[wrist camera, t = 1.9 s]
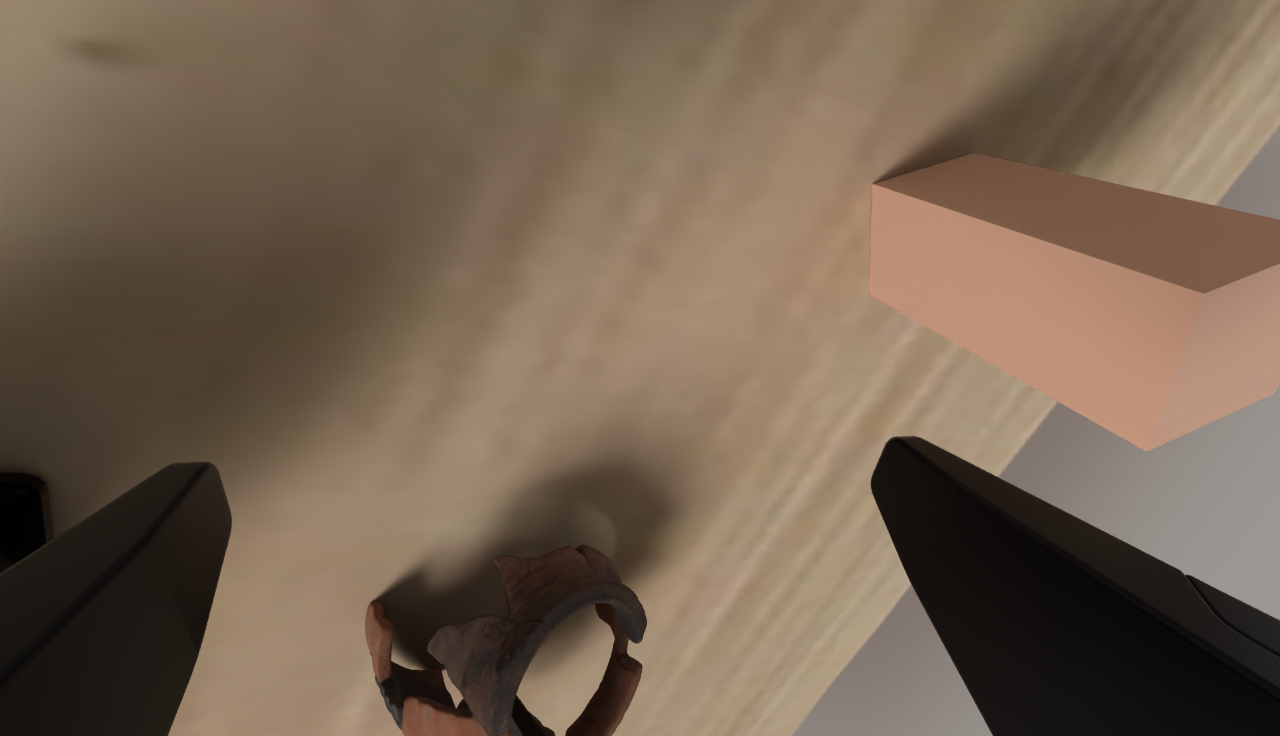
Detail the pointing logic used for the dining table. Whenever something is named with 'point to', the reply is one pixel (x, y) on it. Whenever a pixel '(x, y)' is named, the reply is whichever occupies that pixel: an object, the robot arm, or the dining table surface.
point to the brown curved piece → (513, 652)
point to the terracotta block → (1087, 289)
